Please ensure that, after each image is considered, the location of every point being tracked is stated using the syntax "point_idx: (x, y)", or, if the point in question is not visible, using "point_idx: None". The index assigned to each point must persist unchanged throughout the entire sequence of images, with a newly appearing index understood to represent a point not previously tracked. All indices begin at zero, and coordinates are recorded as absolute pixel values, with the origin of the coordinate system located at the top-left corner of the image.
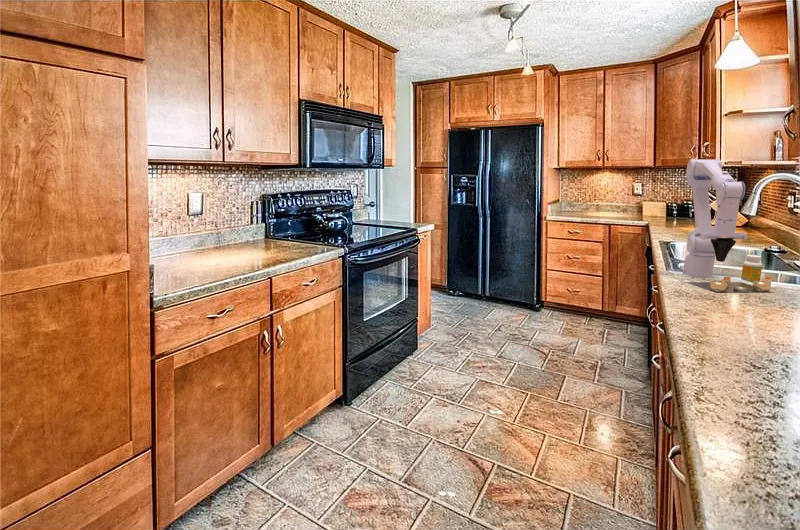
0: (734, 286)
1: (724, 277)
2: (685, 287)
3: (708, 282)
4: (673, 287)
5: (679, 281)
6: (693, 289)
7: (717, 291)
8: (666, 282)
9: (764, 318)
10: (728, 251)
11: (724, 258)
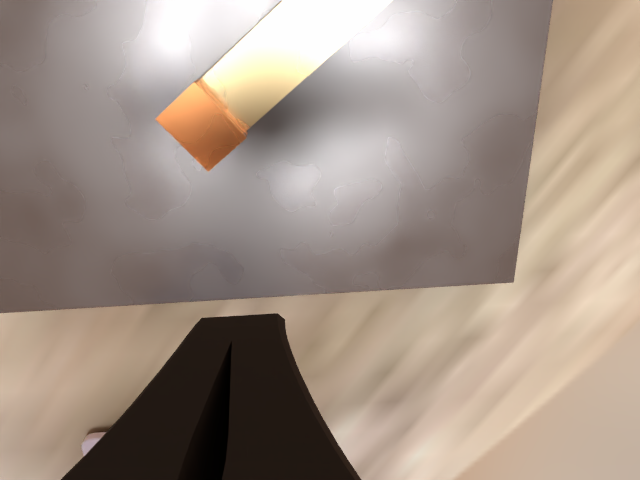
0: (106, 116)
1: (243, 129)
2: (523, 235)
3: (291, 285)
4: (637, 231)
5: (414, 427)
6: None
7: None
8: (551, 392)
9: None
10: (88, 474)
11: (205, 347)
